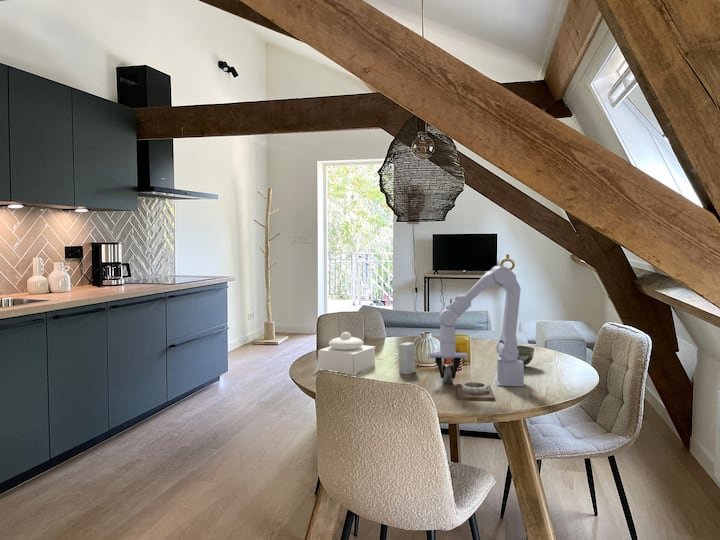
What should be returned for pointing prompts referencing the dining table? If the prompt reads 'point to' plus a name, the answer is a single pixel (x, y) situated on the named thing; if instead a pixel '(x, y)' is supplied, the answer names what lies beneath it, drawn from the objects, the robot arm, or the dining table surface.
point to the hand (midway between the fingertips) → (447, 377)
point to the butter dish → (346, 355)
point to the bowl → (525, 354)
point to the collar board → (474, 391)
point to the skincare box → (406, 358)
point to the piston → (447, 374)
